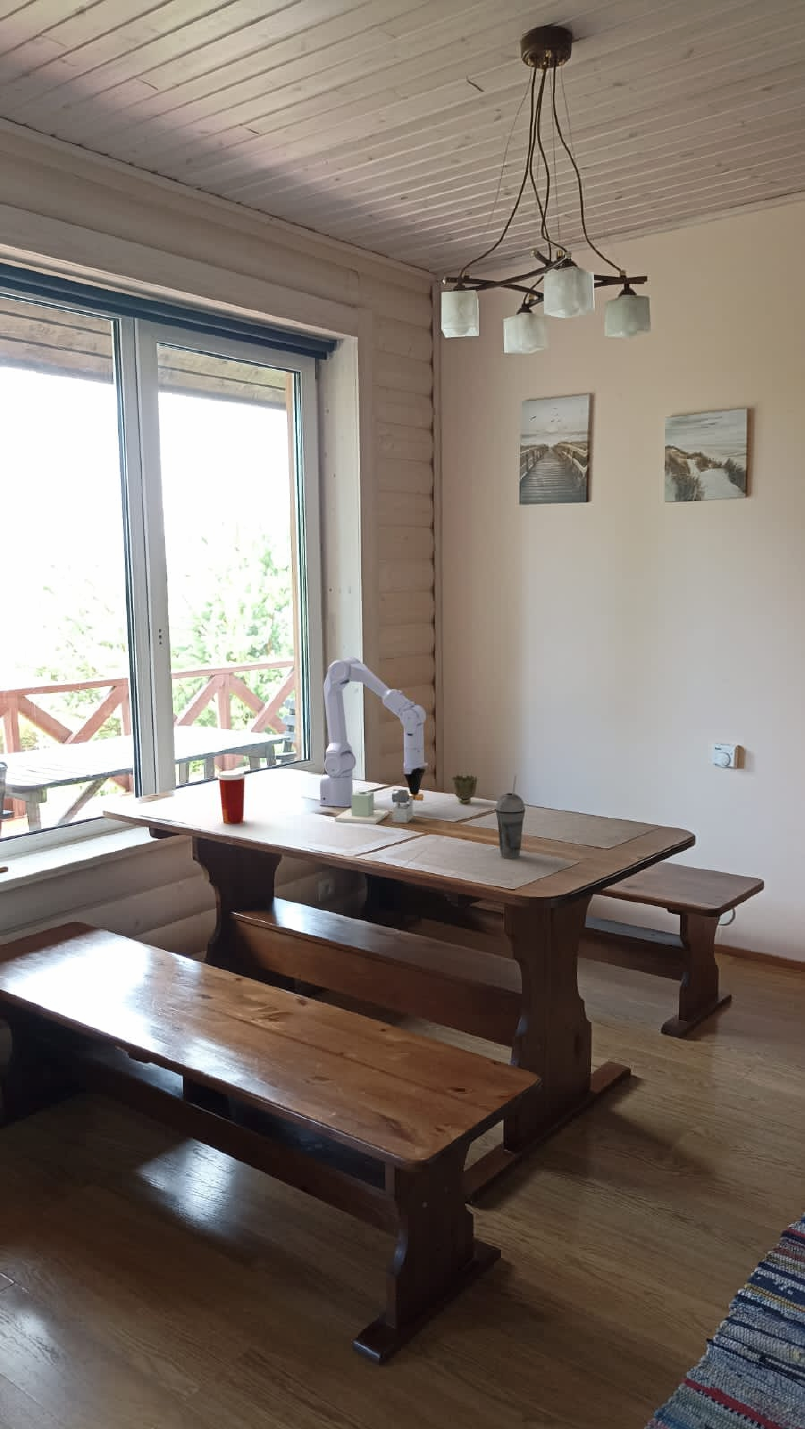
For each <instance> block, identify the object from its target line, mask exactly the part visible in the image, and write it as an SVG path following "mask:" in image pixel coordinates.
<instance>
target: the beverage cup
mask: <svg viewBox="0 0 805 1429" xmlns="http://www.w3.org/2000/svg"><path fill="white" fill-rule="evenodd" d="M516 780H517V775H513V782H512V792H509V793H507V792H506V793H505V794H503V795H501V796H500V797H499V798H498V799H497V801H496V805H495V809H494V810H495V815H496V819H497V828H498V840H499V851H500V857H501V858H502V859H506V860H514V859H515V860H516V859H519V858H520V853H521V850H522V849H521V847H522V837H523V836H522V835H523V824H524V818H525V812H526V808H525V804H524V801H523V799H522V798H521V797H520V796H519V795H518V794H516V793H515V791H516V789H515V788H516V783H517V782H516Z"/></svg>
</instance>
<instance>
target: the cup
mask: <svg viewBox="0 0 805 1429" xmlns="http://www.w3.org/2000/svg"><path fill="white" fill-rule="evenodd" d="M477 782H478V777H476V776H473V775H472V774H471V775H468V774H467V775H466V776H465V777H463V775H456V776H455V775H454V776H453V777H452V785H453V786H452V787H453V792H454V795H455V797H457V799H458V803H459V804H460V805H469V804H470V803H471V802H472V800H471V799H472V798H473V797H474V796H475V794H476V791H477Z"/></svg>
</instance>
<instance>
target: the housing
mask: <svg viewBox="0 0 805 1429" xmlns="http://www.w3.org/2000/svg"><path fill="white" fill-rule="evenodd" d="M374 794H375V792H374V791H359V790H358V791H356V792H353V794H352V795H351V806H350V809H352V816H363V817H369V816H370V815H372V814H373V813H374V810H375V796H374Z"/></svg>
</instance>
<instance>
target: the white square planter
mask: <svg viewBox="0 0 805 1429" xmlns="http://www.w3.org/2000/svg"><path fill="white" fill-rule="evenodd" d="M413 806H414V800H413V795H411V796H409V802H408V803H396V804H395V806H393V807H392V823H399V824H400V823H401V824H402V823H403V824H407V823H409V821H411V820H412V819H414V818H413V813H414V812H413Z"/></svg>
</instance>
